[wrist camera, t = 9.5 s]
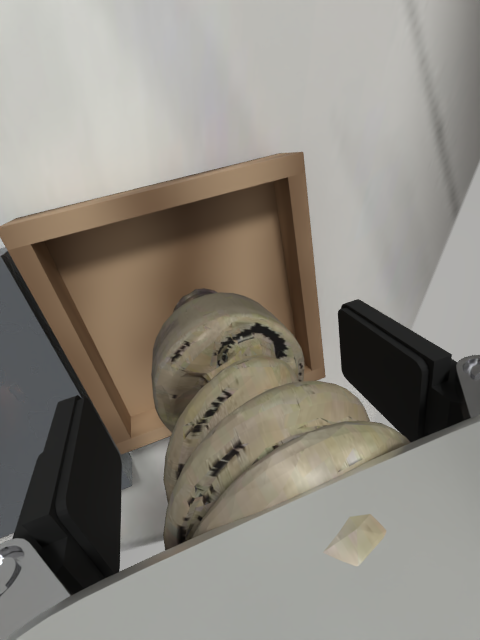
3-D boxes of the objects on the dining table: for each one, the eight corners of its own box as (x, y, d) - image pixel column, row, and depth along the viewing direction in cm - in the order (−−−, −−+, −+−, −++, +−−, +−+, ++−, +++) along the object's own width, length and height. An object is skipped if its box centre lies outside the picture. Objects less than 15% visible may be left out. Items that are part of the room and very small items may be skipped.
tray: (279, 153, 16) (303, 151, 14) (305, 355, 22) (325, 377, 19) (16, 218, 14) (-5, 228, 12) (122, 422, 20) (121, 454, 17)
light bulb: (148, 241, 15) (240, 787, 2) (260, 254, 17) (694, 587, 4) (140, 350, 17) (161, 947, 4) (241, 351, 19) (472, 773, 6)
